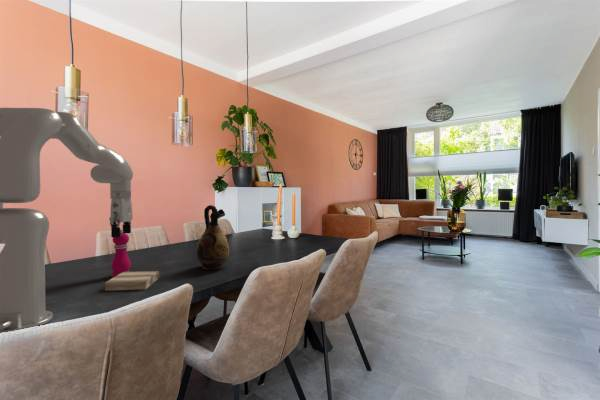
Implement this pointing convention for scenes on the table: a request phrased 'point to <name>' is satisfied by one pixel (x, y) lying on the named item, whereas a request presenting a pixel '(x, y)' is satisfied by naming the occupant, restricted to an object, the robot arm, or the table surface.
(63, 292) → the table surface
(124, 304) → the table surface
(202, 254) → the ceramic jug
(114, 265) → the pepper mill
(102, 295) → the table surface
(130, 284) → the birch stand
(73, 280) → the table surface
